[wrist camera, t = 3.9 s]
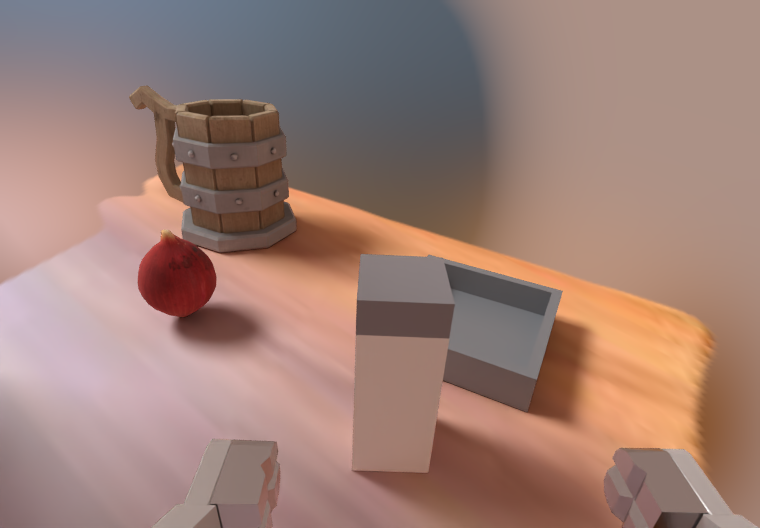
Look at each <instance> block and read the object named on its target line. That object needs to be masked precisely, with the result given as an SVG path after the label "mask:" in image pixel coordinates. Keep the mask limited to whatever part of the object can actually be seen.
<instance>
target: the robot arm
mask: <svg viewBox="0 0 760 528" xmlns="http://www.w3.org/2000/svg"><path fill="white" fill-rule="evenodd" d="M277 455H278V446H277V442H273V441H252V440H229V439H212V440H211V441H210V443H209V444H208V445H207V447H206V450H205V452H204V455H203V457H202V460H201V462H200V465H199V467H198V470H197V472H196V475H195V477H194V480H193V482H192V485H191V487H190V489H189V492H188V494H187V497H186V499H185V502H184V504H177V505H176V506H174V507H173V508H172V509H171V510H170V511H169V512H168V513H167V514H166V515H164V516H163V517H162V518H161V519H160V520H159V521H158V522H157V523H155V524H154V525H153V526H152V527H151V528H272V518H271V511H272V510H273V509H274V508H275V507H276V506H277V501H278V495H279V488H280V464H279V463H278V462H277V461H276V459H277ZM613 460H614V462H615V464H616V465H615V466H613V467H612V468H610V469H609V470H607V473H606V476H605V479H604V492H605V496H606V500H607V503H608V505H609V507H610V509H611V512H612V513H613V514H614V515H615V516H617V517H618V518H619V519H620V520H621V521H622V522H623V524H622V528H758V527H757V526H755V525H754V524H753V523H751V522H750V521H749V520H747V519H746V518H744V517H743V516H742V515H734V514H733V513H732V511H731V510H730V508H729V507H728V506H727V504H726V503H725V501H724V500H723V499H722V497H721V496H720V494H719V493H718V492H717V490H716V489H715V487H714V486H713V485H712V483H711V482H710V481H709V479H708V478H707V476H706V475H705V474H704V472H703V471H702V469H701V468H700V467H699V465H698V464H697V463H696V461H695V460H694V458H693V457H692V456H691V454H690V453H689V452H687V451H686V450H684V449H659V448H620V449H618V450H617V451H615V454H614V456H613Z"/></svg>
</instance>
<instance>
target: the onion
mask: <svg viewBox="0 0 760 528" xmlns="http://www.w3.org/2000/svg"><path fill="white" fill-rule="evenodd" d="M161 235H162V236H161V241H160V242H159V243H158V244H156V245H155V246H154V247H152V249H151V250H150V251H149V252H148V253H147V254H146V255H145V257H144V258H143V259H142V261H141V264H140V267H139V272H138V288H139V291H140V293H141V295H142V297H143V298H144V299H145V300H146V301H147V303H148V304H149V305H151V306H152V307H153V308H154V309H156V310H159V311H161V312H164V313H166V314H168V315H172V316H178V317H186V316H188V315H190V314H192V313H194V312H196V311H197V310H198V309H200V308H201V307H203V306H204V305H205V304H206V303H207V302H208V301H209V299H210V298H211V296H212V294H213V292H214V290H215V287H216V273H215V270H214V267H213V264H212V262H211V260H210V259H209V257H208V256H207V255H206V254H205V253H204V252H203V251H202V250H201V249H200V248H198V247H197V246H196V245H195V244H193V243H191V242H189V241H187V240H184V239H180V238H179V237H177V236H175V235H174V234H172V233H171V231H169V230H162V231H161Z"/></svg>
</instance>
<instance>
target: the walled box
mask: <svg viewBox="0 0 760 528" xmlns="http://www.w3.org/2000/svg"><path fill="white" fill-rule="evenodd" d="M427 257H435V256H432V255H428V256H427ZM443 260H444V264H445V268H446V272H447V276H448V279H449V283H450V287H451V291H452V295H453V299H454V303H455V306H454V313H453V319H452V325H451V332H450V338H449V344H448V351H447V357H446V363H445V370H444V376H443V381H446V382H448V383H451V384H454V385H456V386H459V387H462V388H464V389H467V390H469V391H472V392H475V393H477V394H480V395H483V396H485V397H488V398H491V399H493V400H496V401H498V402H501V403H504V404H506V405H509V406H512V407H514V408H517V409H520V410H522V411H525V412H528V408H529V405H530V402H531V398H532V395H533V391H534V388H535V385H536V381H537V378H538V374H539V371H540V367H541V364H542V361H543V357H544V354H545V350H546V347H547V343H548V340H549V336H550V333H551V330H552V326H553V323H554V319H555V316H556V312H557V309H558V305H559V302H560V299H561V295H562V292H563V291H561V290H557V289H553V288H549V287H546V286H542V285H538V284H535V283H531V282H527V281H524V280H520V279H516V278H513V277H509V276H505V275H502V274H498V273H494V272H491V271H487V270H483V269H479V268H476V267H472V266H468V265H465V264H461V263H457V262H454V261H450V260H446V259H443Z"/></svg>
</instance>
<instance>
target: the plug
mask: <svg viewBox="0 0 760 528" xmlns="http://www.w3.org/2000/svg"><path fill="white" fill-rule="evenodd" d="M454 306H455V303H454V299H453V295H452V291H451V287H450V283H449V279H448V276H447V272H446V268H445V264H444V260H443V258H439V257H417V256H394V255H372V254H361V256H360V268H359V281H358V293H357V314H356V347H355V381H354V414H353V448H352V470H354V471H385V472H415V473H428V471H429V465H430V458H431V452H432V446H433V439H434V433H435V427H436V420H437V414H438V408H439V401H440V395H441V389H442V382H443V376H444V370H445V363H446V357H447V351H448V344H449V338H450V332H451V325H452V319H453V313H454Z"/></svg>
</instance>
